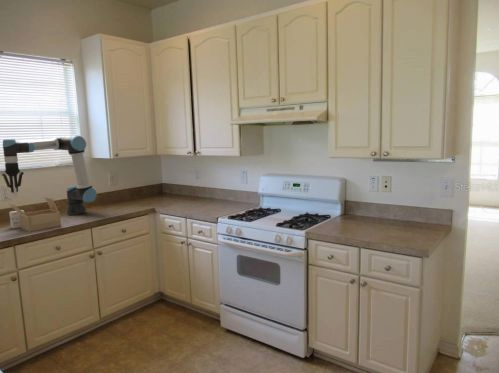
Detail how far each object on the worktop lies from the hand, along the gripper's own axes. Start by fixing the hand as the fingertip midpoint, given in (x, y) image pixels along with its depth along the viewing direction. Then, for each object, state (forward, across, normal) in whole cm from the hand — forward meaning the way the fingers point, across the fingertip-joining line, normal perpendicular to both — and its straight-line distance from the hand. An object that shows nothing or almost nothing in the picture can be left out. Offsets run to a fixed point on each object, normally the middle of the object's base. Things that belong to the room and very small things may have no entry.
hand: (15, 197), depth 260 cm
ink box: (+24, -4, -14) cm, 28 cm away
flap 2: (+13, -24, 0) cm, 28 cm away
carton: (+24, -14, 0) cm, 28 cm away
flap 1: (+13, -4, 0) cm, 14 cm away
